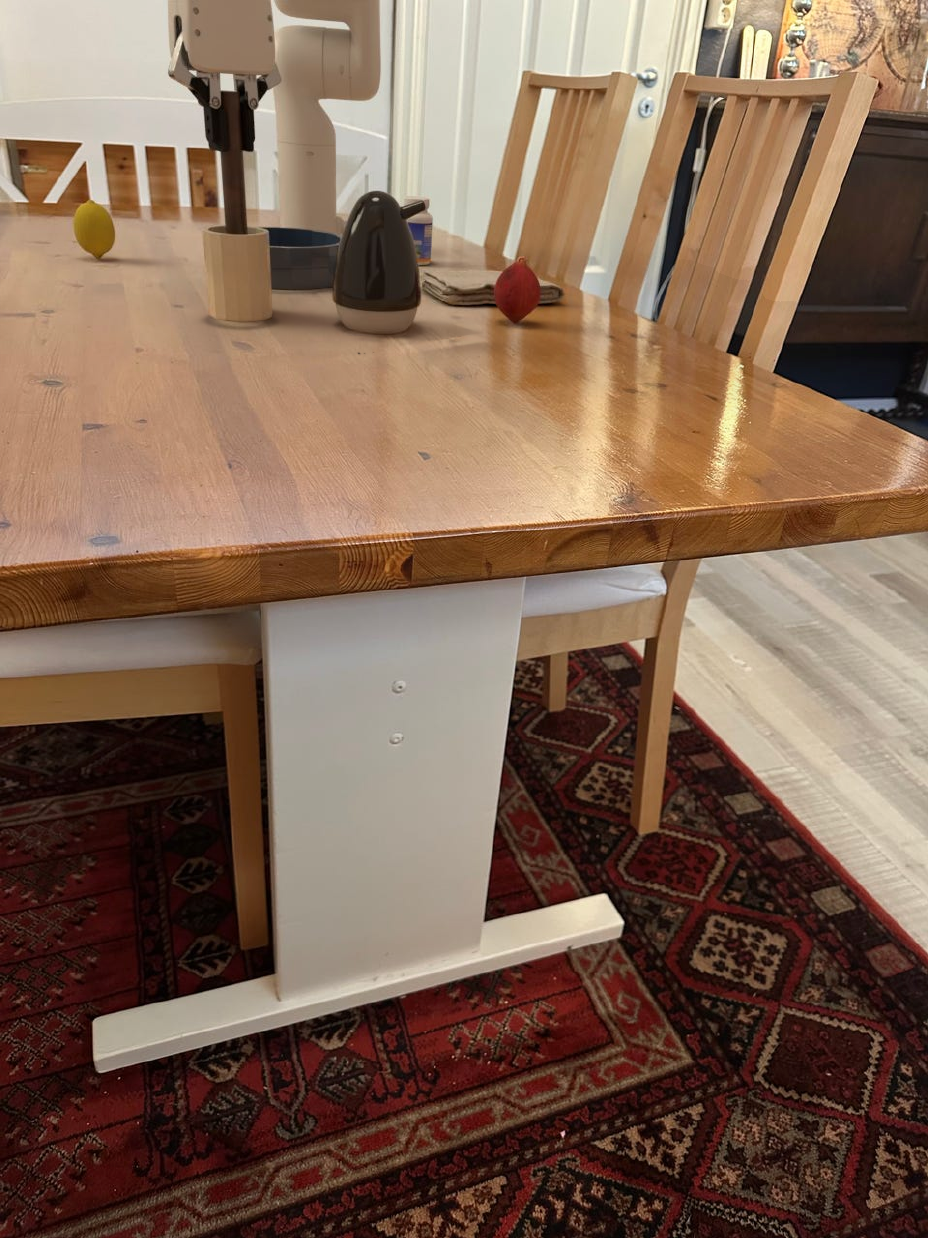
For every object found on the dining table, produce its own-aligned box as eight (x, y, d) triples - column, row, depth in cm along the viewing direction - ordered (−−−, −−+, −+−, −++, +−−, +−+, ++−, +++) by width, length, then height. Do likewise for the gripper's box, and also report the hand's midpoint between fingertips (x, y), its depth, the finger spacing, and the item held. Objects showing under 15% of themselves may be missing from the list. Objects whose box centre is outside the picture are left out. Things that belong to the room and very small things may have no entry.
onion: (505, 329, 111) (511, 260, 107) (483, 318, 115) (488, 252, 111) (545, 327, 114) (552, 260, 110) (522, 316, 118) (528, 251, 114)
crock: (251, 311, 111) (246, 223, 105) (284, 324, 106) (280, 233, 101) (198, 317, 106) (190, 226, 101) (229, 330, 102) (223, 236, 97)
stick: (242, 268, 105) (232, 90, 96) (253, 272, 104) (243, 92, 94) (224, 269, 104) (211, 89, 94) (235, 273, 102) (223, 91, 93)
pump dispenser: (428, 344, 102) (434, 198, 95) (336, 343, 100) (334, 193, 92) (414, 322, 111) (418, 187, 103) (329, 321, 109) (327, 182, 101)
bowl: (302, 266, 137) (301, 224, 134) (372, 288, 127) (372, 243, 124) (197, 275, 127) (193, 229, 124) (264, 300, 116) (261, 251, 113)
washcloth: (415, 288, 129) (416, 265, 127) (528, 287, 135) (530, 265, 133) (444, 307, 120) (445, 283, 118) (564, 305, 126) (566, 282, 124)
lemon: (110, 263, 130) (102, 203, 126) (72, 260, 130) (63, 200, 126) (123, 257, 135) (116, 198, 131) (86, 254, 135) (78, 195, 131)
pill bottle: (391, 262, 145) (393, 196, 140) (406, 258, 150) (408, 194, 145) (422, 267, 144) (425, 200, 139) (436, 262, 148) (439, 197, 143)
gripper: (268, -50, 95) (276, 146, 104) (121, -72, 85) (145, 146, 95) (309, -52, 90) (313, 154, 100) (158, -76, 80) (179, 154, 90)
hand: (231, 148), depth 97 cm, fingers closed on stick, 2 cm apart
